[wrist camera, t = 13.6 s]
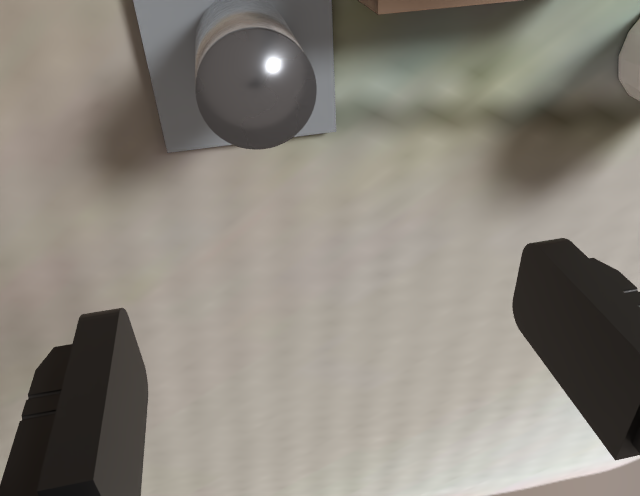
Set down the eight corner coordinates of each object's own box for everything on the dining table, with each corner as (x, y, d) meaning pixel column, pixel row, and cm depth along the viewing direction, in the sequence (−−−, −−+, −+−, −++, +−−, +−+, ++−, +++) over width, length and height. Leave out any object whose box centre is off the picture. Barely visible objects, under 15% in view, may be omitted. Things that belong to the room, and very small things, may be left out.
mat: (120, -68, 26) (118, -66, 25) (325, -82, 27) (328, -81, 27) (167, 147, 32) (167, 152, 32) (333, 126, 34) (336, 131, 33)
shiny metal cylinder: (187, -3, 27) (184, 35, 21) (286, -11, 28) (313, 23, 21) (203, 95, 30) (205, 155, 24) (293, 86, 31) (319, 142, 24)
